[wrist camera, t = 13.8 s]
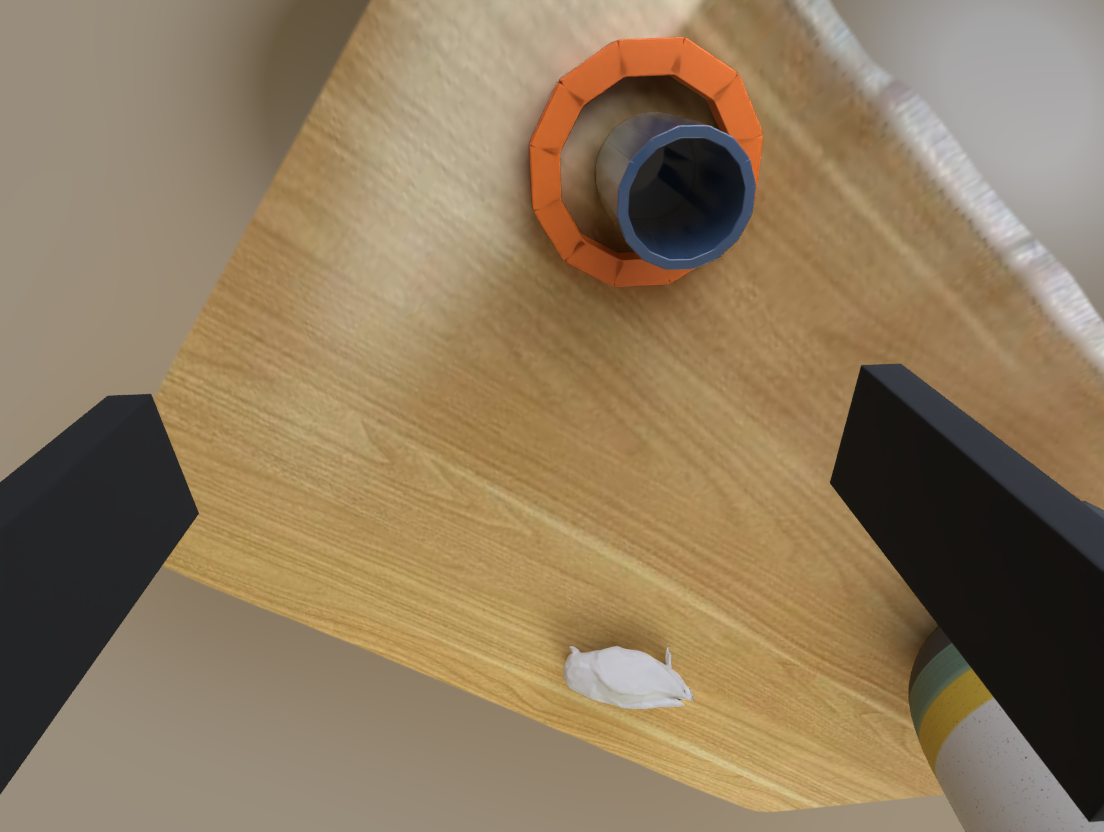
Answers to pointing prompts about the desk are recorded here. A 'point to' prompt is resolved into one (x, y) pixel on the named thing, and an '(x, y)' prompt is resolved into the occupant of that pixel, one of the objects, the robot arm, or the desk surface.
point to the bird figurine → (625, 678)
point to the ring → (590, 82)
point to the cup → (675, 188)
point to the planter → (982, 751)
